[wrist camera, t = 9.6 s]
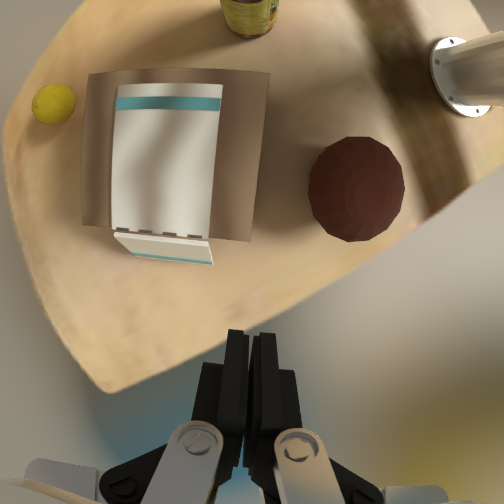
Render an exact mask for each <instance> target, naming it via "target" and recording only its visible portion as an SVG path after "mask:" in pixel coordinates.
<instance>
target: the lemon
mask: <svg viewBox="0 0 504 504" xmlns="http://www.w3.org/2000/svg"><path fill="white" fill-rule="evenodd" d="M75 106H76V97H75V94H74V92H73V91H72V90H71V89H70V88H69V87H68V86H65V85H63V84H51V85H48V86H45V87H43V88H42V89H40V90H39V91H38V93H37V94H36V95H35V97H34V99H33V102H32V112H33V115H34V116H35V118H36V119H37V120H38V121H40V122H42V123H45V124H49V125H52V124H59V123H61V122H63V121H65V120H66V119H68V118H69V117H70V116H71V114H72V113H73V111H74V109H75Z"/></svg>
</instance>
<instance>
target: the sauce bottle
mask: <svg viewBox="0 0 504 504" xmlns="http://www.w3.org/2000/svg"><path fill="white" fill-rule="evenodd" d="M220 3H221V6H222V10H223V14H224V17H225V20H226V23H227V25H228V26H229V28H230V29H231V30H232V31H233V32H234V33H235V34H237V35H238V36H241V37H245V38H257V37H261V36H263V35H265V34H266V33H268V32H269V31H270V30H271V29H272V27H273V25H274V23H275V21H276V19H277V12H278V5H279V0H220Z"/></svg>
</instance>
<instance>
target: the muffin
mask: <svg viewBox="0 0 504 504" xmlns="http://www.w3.org/2000/svg"><path fill="white" fill-rule="evenodd" d="M309 175H310V184H309V189H308V196H309V200H310V203H311V207H312V211H313V216H314V217H315V219H316V220H317V221H318V222H319V223H320V225H321V226H322V227H323V228H324V229H325V231H326V232H327V233H328V234H330V235H332V236H335V237H337V238H339V239H342V240H344V241H346V242H355V241H367V240H370V239H372V238H373V237H375V236H377V235H378V234H380V233H382V232H383V231H385V230H387V229H388V227H389V226H390V224H391V223H392V222H393V220H394V219H395V217H396V216H397V215H398V213H399V212H400V209H401V204H402V200H403V196H404V191H405V186H404V180H403V174H402V168H401V165H400V164H399V162H398V161H397V159H396V158H395V156H394V155H393V153H392V152H391V151H390V149H389V148H388V147H387V146H385V145H383V144H381V143H380V142H378V141H376V140H374V139H372V138H370V137H345V138H344V139H342V140H340V141H338V142H336V143H334V144H333V145H331V146H329V147H327V148H326V149H325V150H324V152H323V153H322V154H321V155H319V158H318V160H317V162H316V164H315V165H314V166H313V168H312V171H311V173H310V174H309Z"/></svg>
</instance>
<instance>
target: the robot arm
mask: <svg viewBox="0 0 504 504" xmlns="http://www.w3.org/2000/svg"><path fill="white" fill-rule="evenodd" d="M429 64H430V72H431V76H432V80H433V82H434V85H435V87H436V89H437V91H438V93H439V95H440V96H441V98H442V99H443V100H444V102H445V103H446V104H447V105H448V106H449V107H450V108H451V109H453V110H454V111H455V112H457V113H458V114H460V115H463V116H466V117H478V116H480V115H483V114H484V113H485V112H486V111H487V110H488V109H489V107H490V106H504V30H503V31H499V32H496V33H492V34H489V35H486V36H482V37H479V38H476V39H473V40H470V41H467V42H466V41H465V40H462V39H460V38H456V37H447V38H444V39H441V40H439V41H438V42H437V43H436V44H435V45H434V46H433V48H432V50H431V54H430V62H429ZM243 333H244V331H242V330H233V329H229V330H228V337H227V345H226V352H225V360H224V364H216V363H207V362H203V365H202V370H201V374H200V380H199V384H198V389H197V394H196V399H195V404H194V409H193V413H192V418H191V421H188V422H186V423H182V424H181V425H179V426H178V427H177V428H176V429H175V430H174V432H173V433H172V435H171V438H170V440H169V442H168V443H167V444H165V445H163V446H161V447H159V448H157V449H155V450H153V451H151V452H148V453H146V454H144V455H142V456H140V457H137V458H135V459H133V460H130V461H128V462H126V463H123V464H121V465H118V466H116V467H114V468H111V469H109V470H108V471H103V470H98V469H97V468H96V467H89V466H80V465H75V464H69V463H63V462H58V461H53V460H48V459H39V458H38V459H35V460H33V461H31V462H30V463H29V464H28V466H27V468H26V471H25V476H24V478H20V477H11V476H2V477H0V504H215V501H216V497H217V494H218V490H219V486H220V485H222V484H223V483H225V482H226V481H228V480H229V479H231V475H232V469H233V466H234V467H238V463H239V458H240V453H241V447H242V442H243V436H244V444H243V467H247V468H249V472H248V475H251V480H252V481H253V482H255V483H256V484H257V485H258V486H259V492H260V497H261V502H262V504H481V503H477V502H472V501H453V502H448V496H447V493H446V492H445V491H444V489H443V488H441V487H439V486H436V485H426V486H386V487H385V488H377V487H376V486H374V485H373V484H371V483H369V482H368V481H366V480H364V479H363V478H361V477H359V476H358V475H356V474H354V473H353V472H351V471H349V470H348V469H346V468H344V467H343V466H341V465H340V464H338V463H336V462H335V461H333V460H332V459H330V458H329V457H328V455H327V453H326V450H325V447H324V445H323V442H322V441H321V439H320V438H319V437H318V436H317V435H316V434H315V433H313V432H311V431H309V430H307V429H303V428H302V421H301V414H300V406H299V400H298V392H297V385H296V378H295V373H294V371H293V370H282V369H279V366H278V355H277V345H276V335H275V333H263V332H260V334H259V336H254V337H253V344H252V351H251V357H250V364H249V371H248V357H249V335H243Z"/></svg>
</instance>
